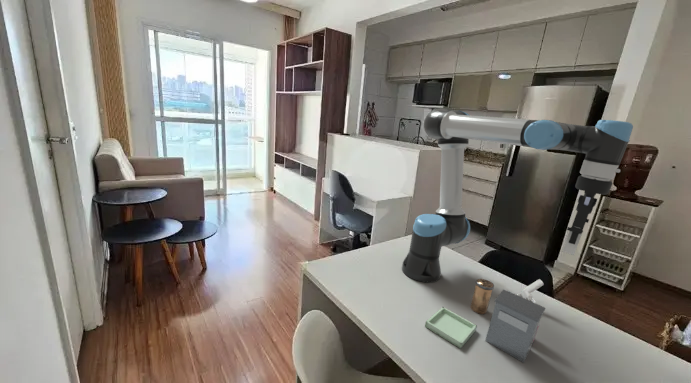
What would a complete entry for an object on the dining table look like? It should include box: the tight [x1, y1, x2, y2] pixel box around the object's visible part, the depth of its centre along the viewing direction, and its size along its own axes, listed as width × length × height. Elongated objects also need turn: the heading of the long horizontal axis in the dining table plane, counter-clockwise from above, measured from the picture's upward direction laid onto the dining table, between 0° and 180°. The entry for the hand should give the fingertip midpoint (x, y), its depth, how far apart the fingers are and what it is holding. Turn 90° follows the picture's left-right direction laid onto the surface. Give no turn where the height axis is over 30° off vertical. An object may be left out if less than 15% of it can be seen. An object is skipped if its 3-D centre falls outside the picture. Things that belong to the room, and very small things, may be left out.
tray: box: [424, 306, 478, 350], centre depth 88 cm, size 11×11×2 cm
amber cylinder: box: [470, 278, 495, 315], centre depth 97 cm, size 5×5×10 cm
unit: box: [484, 289, 546, 364], centre depth 82 cm, size 11×8×14 cm
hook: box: [515, 278, 545, 304], centre depth 104 cm, size 8×12×7 cm
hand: (570, 246), depth 87 cm, fingers open, 13 cm apart
